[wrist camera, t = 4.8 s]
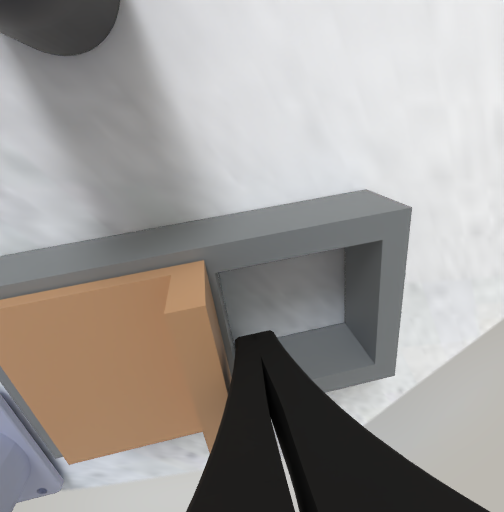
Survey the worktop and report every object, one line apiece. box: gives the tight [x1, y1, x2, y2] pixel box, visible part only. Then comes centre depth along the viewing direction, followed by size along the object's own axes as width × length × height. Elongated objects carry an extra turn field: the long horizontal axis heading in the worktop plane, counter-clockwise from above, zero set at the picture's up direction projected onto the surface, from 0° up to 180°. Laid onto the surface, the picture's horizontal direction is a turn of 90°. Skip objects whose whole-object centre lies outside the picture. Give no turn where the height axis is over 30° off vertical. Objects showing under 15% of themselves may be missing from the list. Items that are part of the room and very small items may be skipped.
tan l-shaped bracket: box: [0, 260, 232, 465], centre depth 9 cm, size 7×7×3 cm
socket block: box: [0, 190, 412, 459], centre depth 12 cm, size 15×8×3 cm, turn 98°
